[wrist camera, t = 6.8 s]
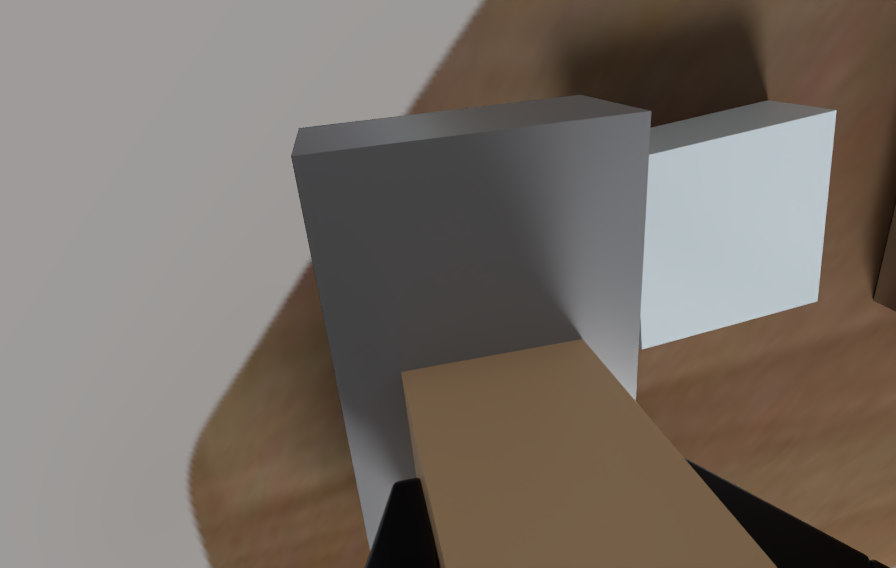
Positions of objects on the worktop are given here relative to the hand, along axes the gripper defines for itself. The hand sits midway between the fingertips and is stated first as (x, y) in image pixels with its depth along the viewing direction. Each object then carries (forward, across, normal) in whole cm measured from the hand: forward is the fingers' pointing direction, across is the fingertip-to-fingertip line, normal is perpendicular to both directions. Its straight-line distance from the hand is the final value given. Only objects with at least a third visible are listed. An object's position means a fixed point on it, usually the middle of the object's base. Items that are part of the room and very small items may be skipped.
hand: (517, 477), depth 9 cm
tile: (+10, -9, 0) cm, 14 cm away
